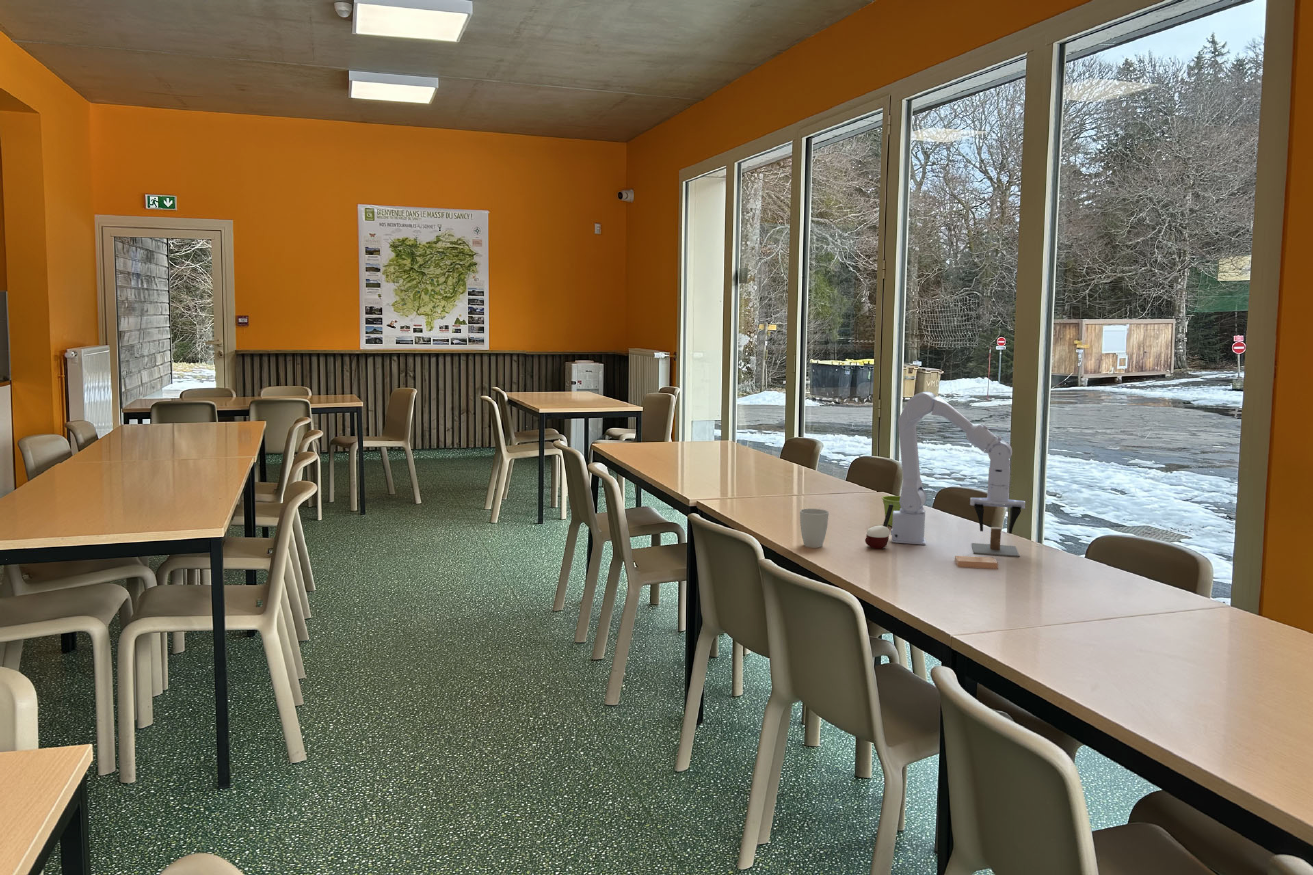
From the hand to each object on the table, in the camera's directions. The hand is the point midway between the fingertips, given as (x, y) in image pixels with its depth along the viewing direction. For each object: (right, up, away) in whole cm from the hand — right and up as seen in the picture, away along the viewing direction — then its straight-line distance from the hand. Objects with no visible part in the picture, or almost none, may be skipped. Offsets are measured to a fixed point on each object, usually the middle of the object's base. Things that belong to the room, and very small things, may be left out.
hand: (995, 531), depth 268 cm
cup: (-51, -5, +3) cm, 51 cm away
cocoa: (-33, -5, +3) cm, 33 cm away
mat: (0, -5, +1) cm, 5 cm away
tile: (-10, -6, -13) cm, 18 cm away
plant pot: (-20, -1, +33) cm, 39 cm away
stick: (0, -5, +1) cm, 5 cm away
